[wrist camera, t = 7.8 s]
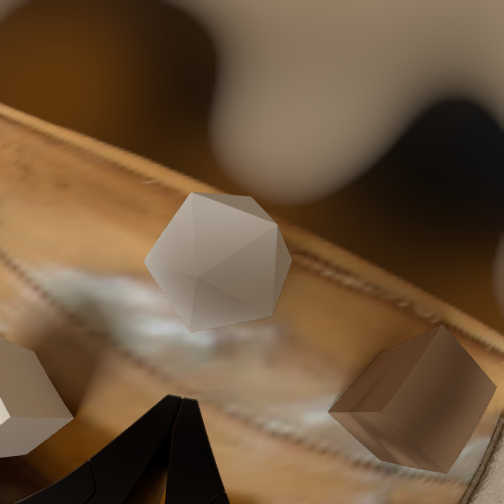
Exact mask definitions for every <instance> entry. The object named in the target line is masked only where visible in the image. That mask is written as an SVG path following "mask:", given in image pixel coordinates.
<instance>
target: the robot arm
mask: <svg viewBox="0 0 504 504" xmlns="http://www.w3.org/2000/svg"><path fill="white" fill-rule="evenodd" d="M166 484H167V485H166ZM165 487H166V498H165V504H230V502H229V499H228V496H227V494H226V493H225V488H224V485H223V483H222V480H221V477H220V474H219V471H218V468H217V464H216V461H215V458H214V455H213V452H212V449H211V445H210V442H209V439H208V435H207V432H206V429H205V425H204V422H203V418H202V415H201V411H200V408H199V404H198V401H197V400H196V399H190V398H183V399H182V398H181V397H180V396H175V395H170V394H169V395H166V396H165V397H164V398H163V399H162V400H160V401H159V402H158V403H157V404H156V405H155V406H153V407H152V408H151V409H150V410H149V411H148V412H146V413H145V414H144V415H143V416H142V417H140V418H139V419H138V420H137V421H136V422H134V423H133V424H132V425H131V426H130V427H128V428H127V429H126V430H125V431H124V432H122V433H121V434H120V435H119V436H117V437H116V438H115V439H114V440H112V441H111V442H110V443H109V444H108V445H106V446H105V447H104V448H103V449H101V450H100V451H99V452H97V453H96V454H95V455H94V456H92V457H91V458H90V459H89V461H88V460H87V461H86V462H85V463H83V464H82V465H81V466H79V467H78V468H77V469H75V470H74V471H73V472H71V473H70V474H68V475H67V476H65V477H64V478H62V479H60V480H59V481H57V482H55V483H54V484H52V485H50V486H48V487H47V488H45V489H43V490H41V491H39V492H37V493H35V494H33V495H31V496H29V497H27V498H25V499H23V500H21V501H19V502H17V503H15V504H160V501H161V498H162V495H163V493H164V490H165Z"/></svg>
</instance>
